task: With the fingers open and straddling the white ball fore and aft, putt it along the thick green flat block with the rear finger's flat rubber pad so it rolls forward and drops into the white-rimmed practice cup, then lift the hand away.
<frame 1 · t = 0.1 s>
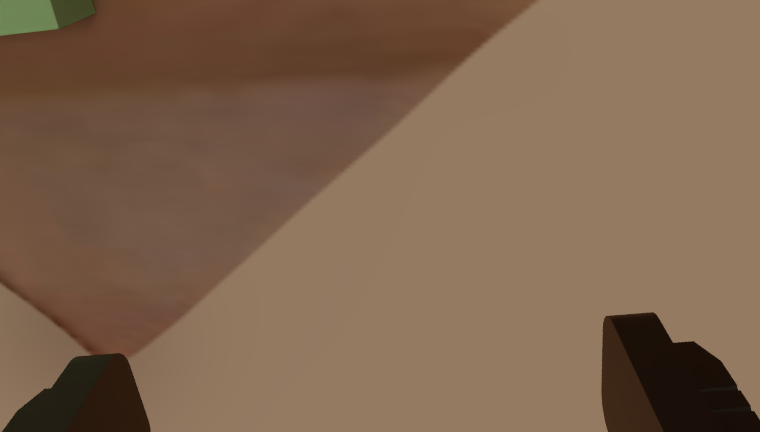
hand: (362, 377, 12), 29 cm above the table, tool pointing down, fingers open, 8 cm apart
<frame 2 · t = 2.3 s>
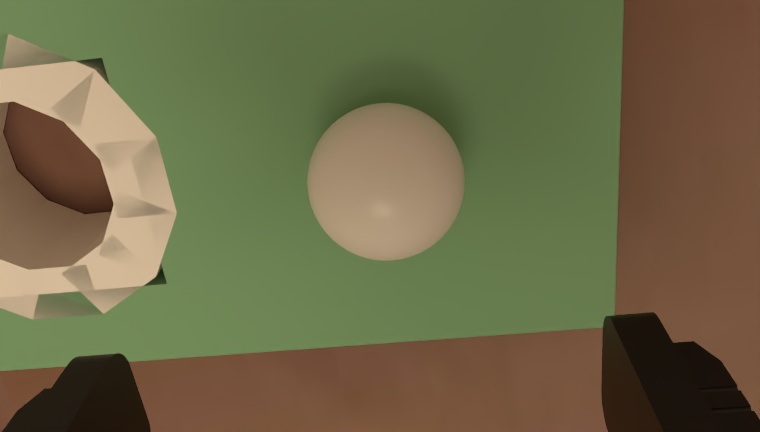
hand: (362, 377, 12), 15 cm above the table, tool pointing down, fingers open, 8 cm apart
green flat block: (233, 128, 26), on the table
ball: (385, 182, 19), point 7 cm above the table, touching green flat block
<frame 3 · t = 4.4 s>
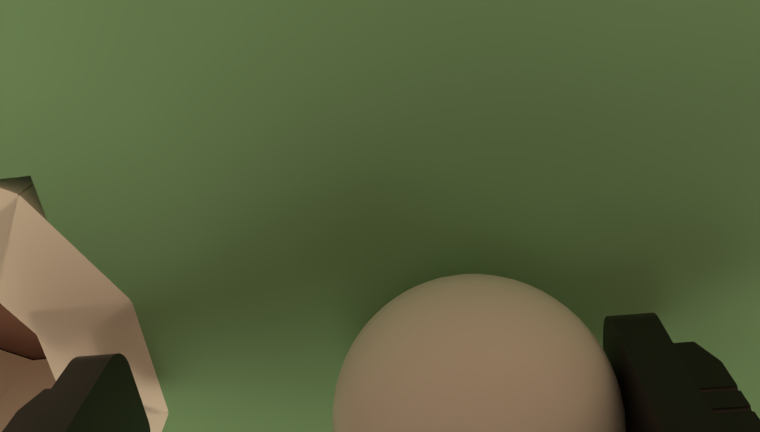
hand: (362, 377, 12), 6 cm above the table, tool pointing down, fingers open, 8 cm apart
green flat block: (253, 242, 17), on the table
ball: (474, 416, 11), point 7 cm above the table, tilted 27°, touching gripper
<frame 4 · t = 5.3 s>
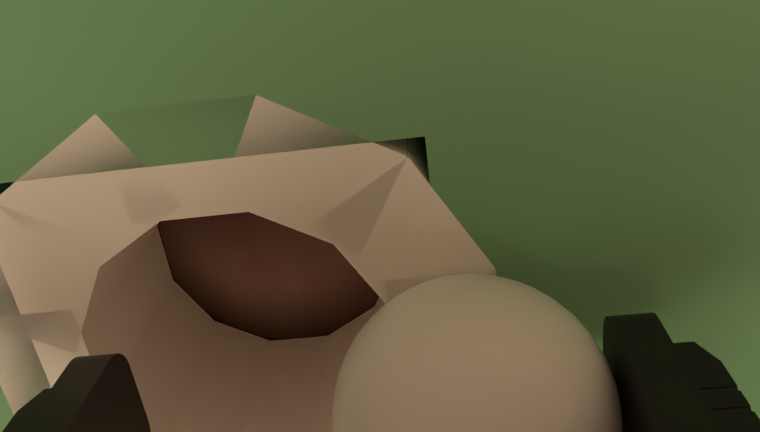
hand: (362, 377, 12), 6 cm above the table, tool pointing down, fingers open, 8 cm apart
green flat block: (522, 218, 17), on the table
ball: (473, 415, 11), point 7 cm above the table, tilted 162°, touching gripper
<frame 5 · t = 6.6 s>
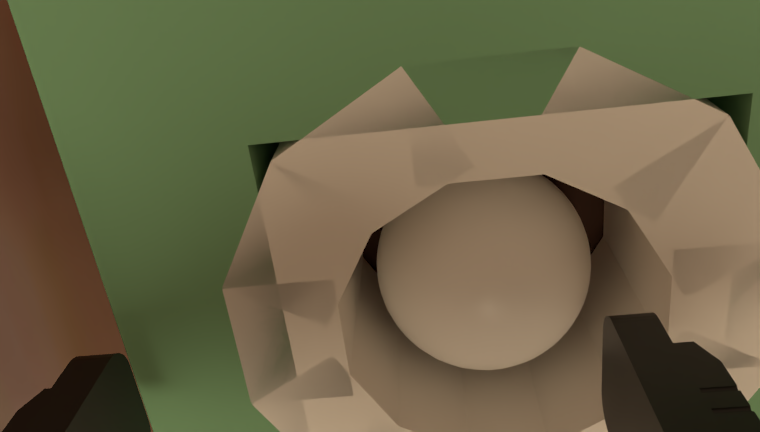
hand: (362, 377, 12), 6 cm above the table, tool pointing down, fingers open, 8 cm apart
green flat block: (740, 194, 16), on the table
ball: (481, 262, 14), point 2 cm above the table, tilted 16°
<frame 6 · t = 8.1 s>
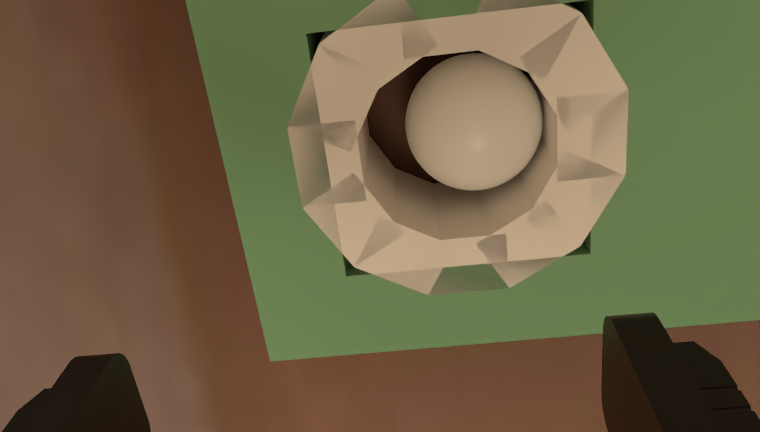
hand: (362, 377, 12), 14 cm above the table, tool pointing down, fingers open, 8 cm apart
green flat block: (620, 87, 24), on the table
ball: (473, 122, 22), point 2 cm above the table, tilted 38°
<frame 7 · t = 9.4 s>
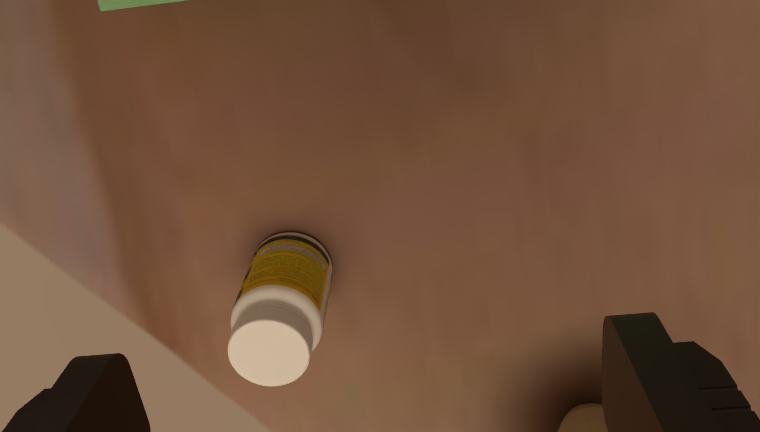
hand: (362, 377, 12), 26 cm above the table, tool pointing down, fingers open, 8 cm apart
supplement bottle: (293, 264, 41), on the table
decorative mushroom: (585, 412, 45), on the table
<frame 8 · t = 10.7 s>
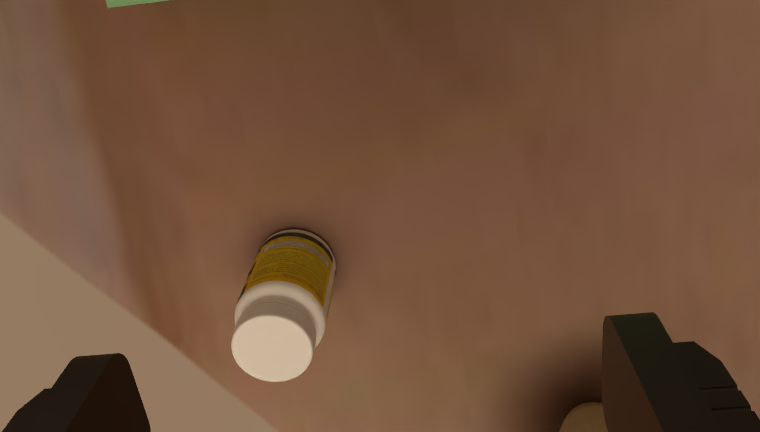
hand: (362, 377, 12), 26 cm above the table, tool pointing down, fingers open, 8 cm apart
supplement bottle: (297, 261, 41), on the table
decorative mushroom: (586, 411, 45), on the table
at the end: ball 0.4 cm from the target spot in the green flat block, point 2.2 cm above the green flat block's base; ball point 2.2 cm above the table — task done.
